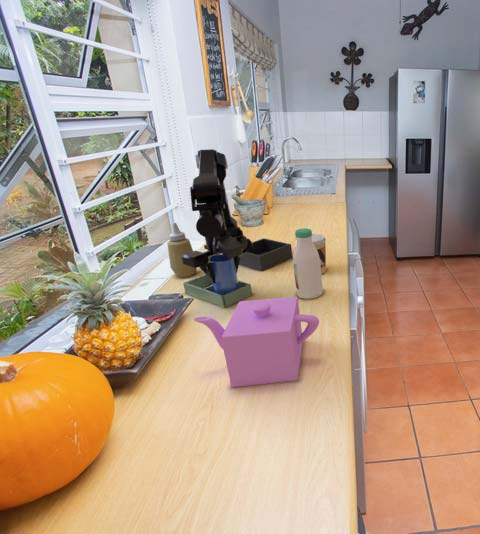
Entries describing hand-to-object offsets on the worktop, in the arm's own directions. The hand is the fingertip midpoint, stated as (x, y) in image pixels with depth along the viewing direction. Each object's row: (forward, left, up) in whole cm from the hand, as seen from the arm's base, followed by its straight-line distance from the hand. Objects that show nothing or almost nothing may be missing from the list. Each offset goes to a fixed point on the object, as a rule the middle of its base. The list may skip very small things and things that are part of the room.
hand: (224, 278), depth 112 cm
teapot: (+35, -16, -6) cm, 39 cm away
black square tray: (-14, +26, -6) cm, 30 cm away
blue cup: (0, 0, -5) cm, 5 cm away
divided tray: (-4, 0, -6) cm, 8 cm away
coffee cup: (+9, +28, -6) cm, 30 cm away
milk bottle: (+20, +14, -6) cm, 25 cm away
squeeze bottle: (-27, +4, -6) cm, 28 cm away
